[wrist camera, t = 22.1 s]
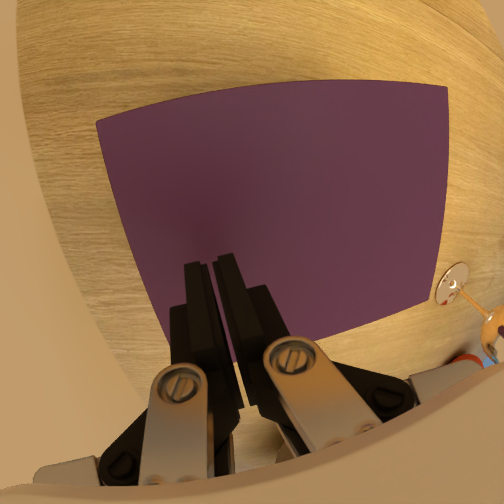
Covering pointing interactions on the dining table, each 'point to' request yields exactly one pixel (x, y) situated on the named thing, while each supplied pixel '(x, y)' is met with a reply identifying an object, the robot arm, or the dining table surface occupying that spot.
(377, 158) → the purple box lid
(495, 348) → the wineglass
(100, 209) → the dining table surface
